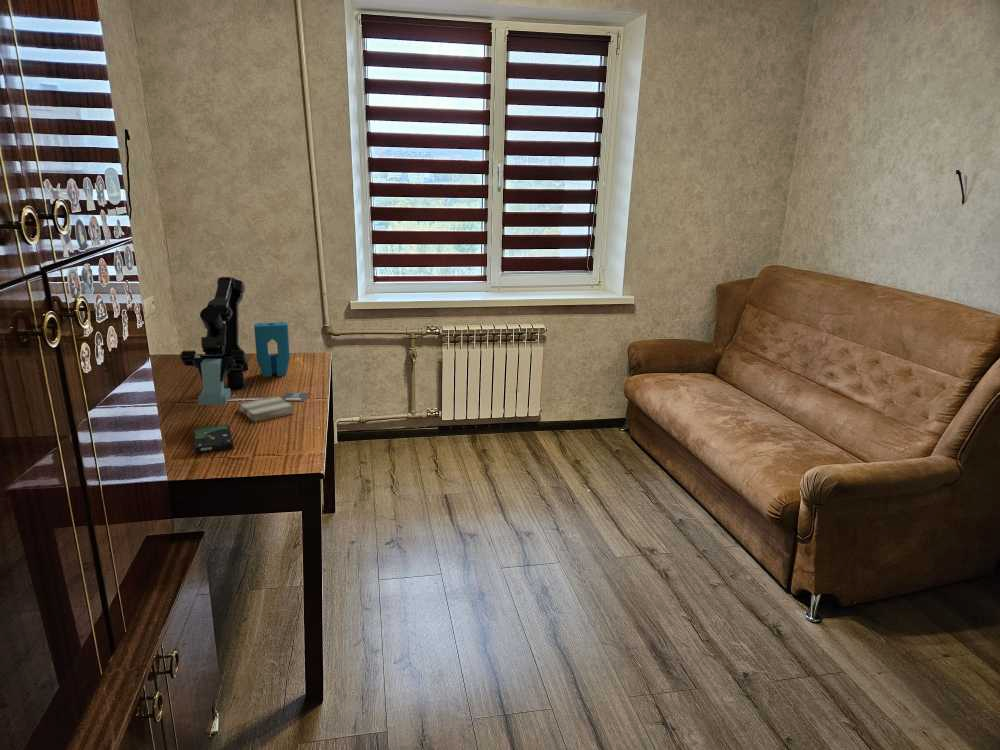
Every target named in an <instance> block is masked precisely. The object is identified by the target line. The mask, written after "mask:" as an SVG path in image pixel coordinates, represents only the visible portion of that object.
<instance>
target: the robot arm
mask: <svg viewBox="0 0 1000 750" xmlns="http://www.w3.org/2000/svg"><path fill="white" fill-rule="evenodd" d="M216 287H217V288H216V292H215V295H214V298H213V299H212V300H210V301H209V302H208V303H207V306H206V307H204V308H203V309H201V311H199V317H200V319H201V322H202V324H203V325H204V328H205V329H206V336H203V337H201V343H200V344H201V349H202V354H201V353H199V352H198V353H197V352H196V350H194V349H193V350H182V351H181V353H180V359H181V362H182V364H183V365H184V366H185V367H194V368H195V369H198V371H199V375H200V376H199V377H200V379H201V382H202V383H203V381H202V371H201V363H202V361H203V360H204V359H221V362H222V371H221V376H220V381H221V382H224V380H225V379H226V384H225V385H224V388H230V390H241V389H243V388H244V387H245V386H246V385H247V384H248V382H246V381H245V380H244V372H247V371H249V363H248V360H247V358H248V357H247V354H246V353H245V351H244V349H242V348H241V346H240V344H239V334H240V333H239V305H240V303H241V301H242V300H243V298H244V297H243V296H244V293H245V291H246V290H245V283H244V282H243V281H242V280H240V279H237V278H235V277H232V276H221V277H218V279H217V281H216ZM203 353H204V354H203Z"/></svg>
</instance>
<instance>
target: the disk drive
mask: <svg viewBox="0 0 1000 750" xmlns="http://www.w3.org/2000/svg"><path fill="white" fill-rule="evenodd" d="M192 435H193V441H194V443H193V444H194V451H195V455H202V454H208V453H216V452H223V451H229V450H230V451H231V450H234V449H235V447H234V446H235V445H234V440H233V436H232V432H231V428H230V425H229V424H221V425H213V426H209V427H203V428H194V429H193V430H192Z"/></svg>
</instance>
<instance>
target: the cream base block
mask: <svg viewBox="0 0 1000 750" xmlns="http://www.w3.org/2000/svg"><path fill="white" fill-rule="evenodd" d="M238 406H239V411H240V412H241V413H243V414H244V415H245V416H247V417H248V418H249V419H250V420H251V421H253V422H254V423H257V422H260V421H261V422H262V421H266V420H271V419H274V418H280V417H283V416H288V415H293V414H294V406H293V405H292V404H291V403H289V402H288V401H284V400H283V399H282V398H281V397H280V396H278V395H273V396H268V397H262V398H258V399H253V400H249V401H244V402H239V403H238Z"/></svg>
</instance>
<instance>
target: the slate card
mask: <svg viewBox="0 0 1000 750" xmlns="http://www.w3.org/2000/svg"><path fill="white" fill-rule="evenodd" d="M309 395H310V393H309V392H308V393H307V392H286V393H284V395H283V397H282V398H281V399H283V400H284V401H286V402H287V403H289V402H293V403H296V402H299V403H301V402H303V403H304V402H305V400H306V399H307V398H308V396H309Z"/></svg>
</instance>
